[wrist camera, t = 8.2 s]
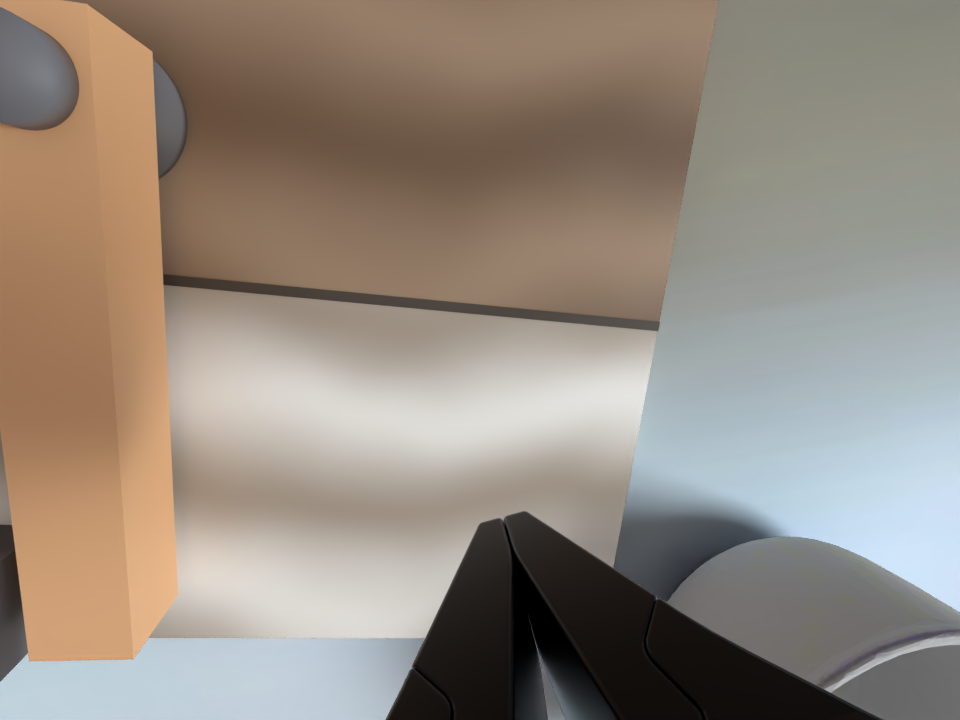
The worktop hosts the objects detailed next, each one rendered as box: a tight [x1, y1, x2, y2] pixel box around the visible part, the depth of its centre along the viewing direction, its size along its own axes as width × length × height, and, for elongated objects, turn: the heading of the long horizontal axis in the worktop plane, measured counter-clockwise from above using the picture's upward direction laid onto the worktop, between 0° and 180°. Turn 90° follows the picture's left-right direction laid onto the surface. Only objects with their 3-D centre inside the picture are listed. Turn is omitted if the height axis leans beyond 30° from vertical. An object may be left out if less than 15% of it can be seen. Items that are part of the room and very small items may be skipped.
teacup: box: [667, 537, 960, 720], centre depth 17 cm, size 14×11×8 cm
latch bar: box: [0, 0, 178, 661], centre depth 12 cm, size 16×2×3 cm, turn 175°
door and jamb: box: [0, 0, 719, 681], centre depth 14 cm, size 22×23×4 cm
